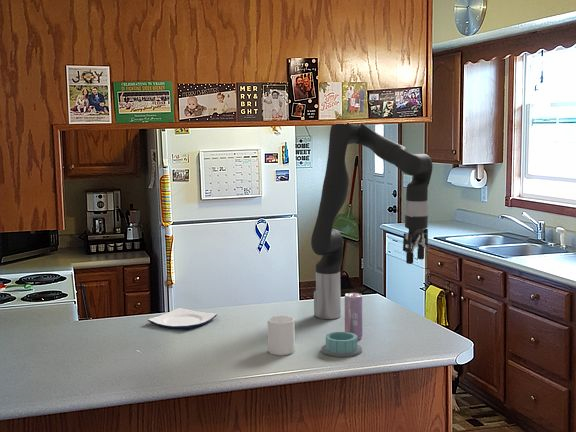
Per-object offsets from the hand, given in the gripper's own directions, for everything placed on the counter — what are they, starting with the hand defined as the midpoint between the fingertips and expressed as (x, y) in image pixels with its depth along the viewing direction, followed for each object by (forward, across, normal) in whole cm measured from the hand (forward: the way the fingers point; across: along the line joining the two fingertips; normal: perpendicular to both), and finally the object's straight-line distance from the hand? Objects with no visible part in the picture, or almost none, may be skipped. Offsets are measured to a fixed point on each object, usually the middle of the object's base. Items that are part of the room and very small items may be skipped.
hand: (415, 261), depth 241 cm
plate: (+28, +30, -79) cm, 89 cm away
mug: (+27, +37, -29) cm, 54 cm away
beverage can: (+26, +13, -16) cm, 34 cm away
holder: (+26, +27, -12) cm, 40 cm away
